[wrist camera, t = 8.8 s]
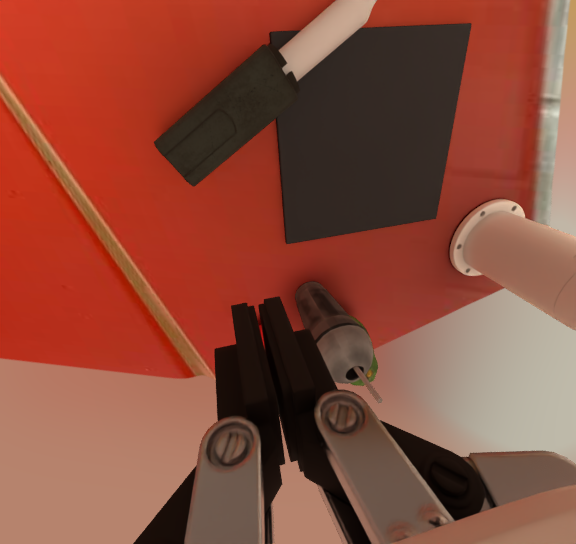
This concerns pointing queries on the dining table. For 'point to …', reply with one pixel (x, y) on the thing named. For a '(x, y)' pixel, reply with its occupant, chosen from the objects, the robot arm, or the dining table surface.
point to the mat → (370, 130)
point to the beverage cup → (336, 335)
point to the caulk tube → (255, 93)
